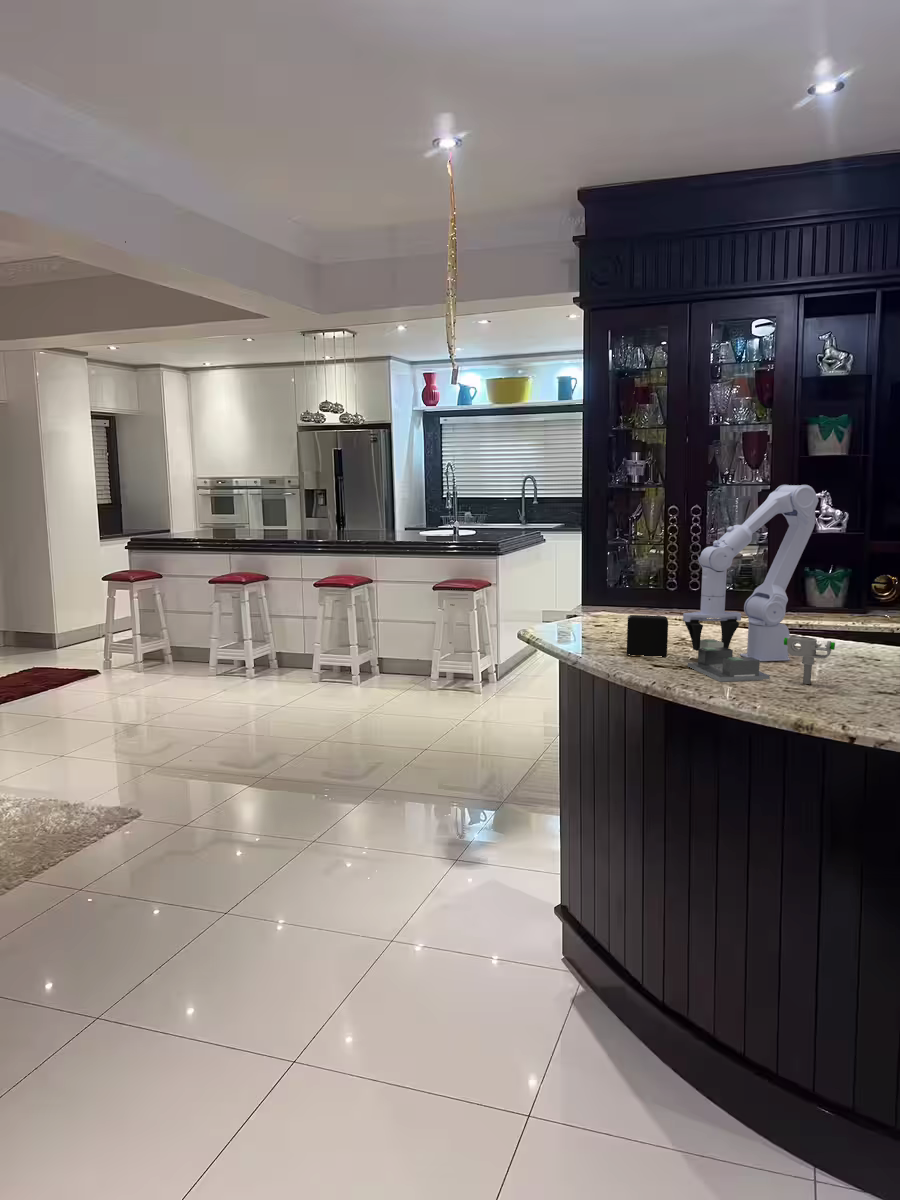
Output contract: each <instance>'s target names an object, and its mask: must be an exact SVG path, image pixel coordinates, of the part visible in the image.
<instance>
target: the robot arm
mask: <svg viewBox="0 0 900 1200" xmlns="http://www.w3.org/2000/svg"><path fill="white" fill-rule="evenodd" d="M819 501H820V500H819V497H818V495H817V493H816V491H815V489H814V488H813V486H810V485H808V484H801V485H799V484H797V485H795V484H793V485H792V484H790V485H789V484H781V485H779V486H778V487H777V488H775V490H773V491H772V492H770V493H769V495H768V496H767V498H766V499H765V501H764V502H762V504H761V505H759V506H758V508H756V510H755V511H754V512H753V513H751V514H750V515H749V516H748V518H746V520H745V521H744V522H743V523H742V524H734V525H733V526H732V525H730V526H728V527H727V528H726V532H725V533H724V534H723V535H721V537H720V538H719V539H717V540H716V539H715V540H714V541H713V542H712V544H713V545H712V546H707V547H705V548H704V549H702V551H701V553H700V555H699V556H698V564H699V565H700V566H701V570H702V571H701V573H702V574H701V594H700V595H701V596H700V611H695V612H683V614H682V621H683V622H684V625H685V627H686V628H687V631H688V633H689V636H690V640H691V644H692V650H694V651H697V652H698V648H700V640H701V636H702V631H703V628H704V625H703V624H702V623H701V622H720V628H721V640H720V642H723V643H724V645H723V647H726V648H729V647H730V644H731V641H732V639H733V636H734V634H735V632H736V631H737V629H738V628H739V626H740V622H741V621H742V613H741V612H738V611H725V610H726V609H725V608H726V592H727V591H726V590H727V573H728V572H727V570H728V569H730V568H731V566H732V564H733V559H735V557H737V555H738V554H740V553H741V552H742V551H743V550H744V549H745V548H746V547H747V546H748V545H749V544H751V543H752V541H753V540H752V539H753V534H754V533H756V532H757V531H758V530H759V529H760V528H762V527H763V526H764V525H765V524H767V523H768V522H769V521H770V520H771V519H772V518H774V517H775V516H776V515H778V514H782V515H783V516H784V517H785V519H786V521H787V524H788V527H787V531H786V532H785V535H784V537H783V539H782V541H781V543H780V545H779V549H778V550H777V553H776V555H775V557H774V558H773V561H772V563H771V565H770V568H769V569H768V572H767V574H766V576H765V579H764V581H763V583H762V584H760V585H758V586H757V587H755V588H754V591H753V592H752V594H751V595H750V596H749V597H748V598H747V599H746V600H745V602H744V605H743V611H744V614H745V616H746V617H747V618H748V620H747V622H748V627H747V628H748V629H747V630H748V631H747V646H746V649H747V650H746V653H740V654H739V656H740V657H752V658H755V659H758V660H760V662H778V661H779V662H781V661H782V662H783V661H791V658H789V655H790V654H789V653H788V651H787V649H788V646H787V645H784V638H788V637H791V636H790V635H791V634H790V630H789V628H788V626H787V625H786V624H785V623H782V621H783V620H784V618H785V616H786V609H787V604H788V601H789V598H788V596H787V595H788V594H787V592H786V590H787V587H788V585H789V583H790V581H791V578H792V577H793V574H794V572H795V570H796V568H797V565H798V564H799V561H800V559H801V557H802V556H803V555H802V554H803V552H804V550H805V549H806V546H807V544H808V542H809V539H810V537H811V536H812V533H813V532H814V531H813V530H814V528H815V524H816V508H817V506H818V503H819ZM729 649H730V648H729Z"/></svg>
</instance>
